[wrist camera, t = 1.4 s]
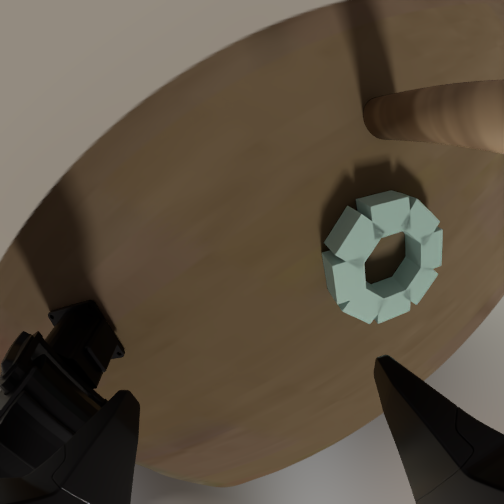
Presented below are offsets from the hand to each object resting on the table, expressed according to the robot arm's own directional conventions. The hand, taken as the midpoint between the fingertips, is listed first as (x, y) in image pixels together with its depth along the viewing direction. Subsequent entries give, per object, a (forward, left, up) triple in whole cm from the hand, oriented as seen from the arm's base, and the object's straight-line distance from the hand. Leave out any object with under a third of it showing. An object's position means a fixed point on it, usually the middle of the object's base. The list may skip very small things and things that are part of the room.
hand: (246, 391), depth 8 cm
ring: (+11, -4, -13) cm, 18 cm away
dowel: (+13, +7, -13) cm, 20 cm away
